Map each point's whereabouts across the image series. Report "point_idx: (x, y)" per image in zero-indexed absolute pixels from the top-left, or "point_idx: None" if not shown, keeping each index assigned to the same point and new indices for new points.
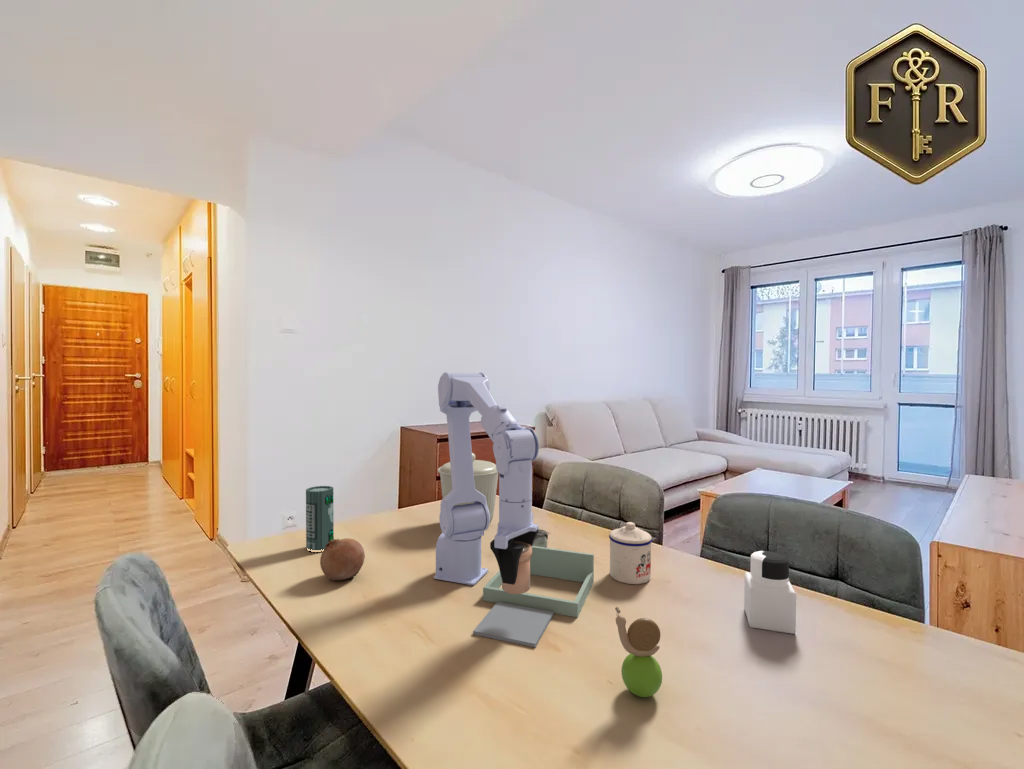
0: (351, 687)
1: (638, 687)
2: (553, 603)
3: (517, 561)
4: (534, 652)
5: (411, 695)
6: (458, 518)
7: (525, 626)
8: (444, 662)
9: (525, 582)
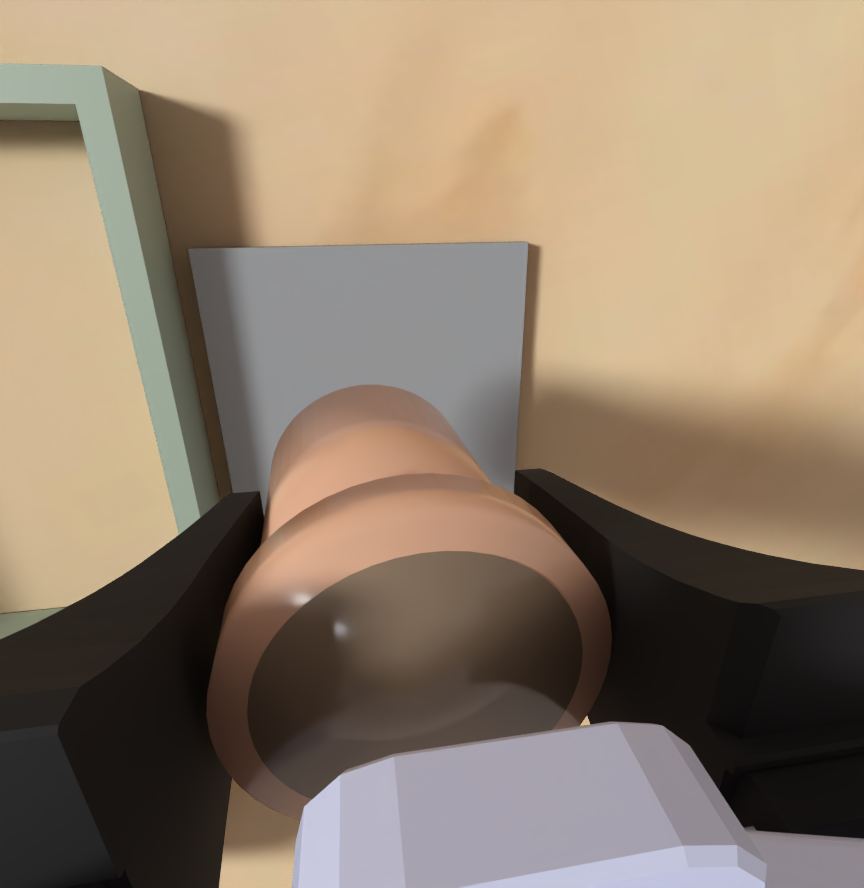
0: None
1: None
2: (153, 259)
3: (676, 538)
4: (557, 233)
5: (839, 509)
6: None
7: (400, 341)
8: (687, 512)
9: (430, 417)
